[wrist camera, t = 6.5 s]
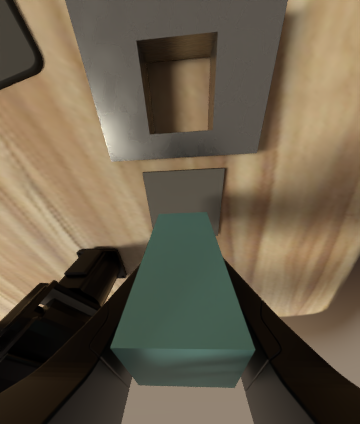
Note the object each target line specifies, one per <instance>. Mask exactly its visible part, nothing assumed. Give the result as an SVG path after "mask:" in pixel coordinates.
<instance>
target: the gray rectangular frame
mask: <svg viewBox="0 0 360 424" xmlns="http://www.w3.org/2000/svg"><path fill="white" fill-rule="evenodd" d="M65 1H66V5H67V8H68V12H69V15H70V19H71V22H72V26H73V29H74V33H75V36H76V40H77V43H78V47H79V50H80V54H81V57H82V61H83V64H84V68H85V71H86V75H87V78H88V82H89V85H90V89H91V92H92V96H93V99H94V103H95V106H96V110H97V113H98V117H99V120H100V124H101V127H102V131H103V134H104V138H105V141H106V145H107V148H108V152H109V155H110V159H111V162H112V161H128V160H145V159H162V158H179V157H196V156H213V155H230V154H247V153H257V150H258V145H259V140H260V135H261V130H262V125H263V120H264V115H265V110H266V105H267V100H268V95H269V91H270V86H271V81H272V76H273V71H274V66H275V61H276V56H277V51H278V46H279V41H280V36H281V31H282V26H283V21H284V16H285V11H286V6H287V1H288V0H65ZM201 57H210V84H209V110H208V130H207V131H193V132H178V133H164V134H155V128H154V120H153V111H152V103H151V95H150V87H149V79H148V71H147V63H150V62H160V61H171V60H181V59H191V58H201Z"/></svg>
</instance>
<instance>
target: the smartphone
mask: <svg viewBox="0 0 360 424" xmlns="http://www.w3.org/2000/svg"><path fill="white" fill-rule="evenodd" d="M42 66H43V61H42V57H41V54H40V52H39V50H38V48H37V46H36V44H35V42H34V40H33V38H32V36H31V34H30V32H29V30H28V28H27V27H26V25H25V23H24V21H23V19H22V17H21V15H20V13H19V11H18V9H17V7H16V5H15V3H14V1H13V0H0V90H1V89H3V88H5V87H8V86H10V85H12V84H13V82H20V81H22V80H24V79H27V78H29V77H31V76H34V75H36V74H38V73H39V72H40V71H41V69H42Z"/></svg>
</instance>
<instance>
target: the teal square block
mask: <svg viewBox="0 0 360 424" xmlns="http://www.w3.org/2000/svg"><path fill="white" fill-rule="evenodd" d="M110 349H111V350H112V351H113V352H114V354H115V355H116V356H117V358H118V359H119V360H120V361H121V363H122V364H123V365H124V367H125V368H126V369H127V370H128V372H129V373H130V374H131V376H132V377H133V378H134V379H135V381H136V382H137V383H138V385H150V386H188V387H225V388H226V387H228V388H234V387H235V386H236V384H237V382H238V380H239V379H240V377H241V375H242V373H243V371H244V370H245V368H246V366H247V364H248V362H249V360H250V359H251V357H252V355H253V353H254V351H255V348H254V345H253V342H252V339H251V336H250V333H249V331H248V328H247V325H246V322H245V319H244V316H243V314H242V311H241V308H240V305H239V302H238V299H237V297H236V294H235V291H234V288H233V285H232V282H231V279H230V277H229V274H228V271H227V268H226V265H225V262H224V260H223V257H222V254H221V251H220V248H219V245H218V243H217V240H216V237H215V234H214V231H213V228H212V226H211V223H210V220H209V217H208V214H207V212H197V213H171V214H159V215H158V218H157V220H156V223H155V226H154V229H153V231H152V234H151V237H150V240H149V242H148V245H147V248H146V251H145V253H144V256H143V259H142V262H141V264H140V267H139V270H138V273H137V275H136V278H135V281H134V284H133V286H132V289H131V292H130V295H129V297H128V300H127V303H126V306H125V308H124V311H123V314H122V317H121V319H120V322H119V325H118V328H117V330H116V333H115V336H114V339H113V341H112V344H111V347H110Z"/></svg>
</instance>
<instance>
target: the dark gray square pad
mask: <svg viewBox="0 0 360 424" xmlns="http://www.w3.org/2000/svg"><path fill="white" fill-rule="evenodd" d="M224 171H225V168H212V169H193V170H174V171H156V172H143V179H144V184H145V189H146V195H147V200H148V205H149V211H150V216H151V221H152V227H153V229H154V226H155V223H156V220H157V218H158V215H159V214H171V213H197V212H207V214H208V217H209V220H210V223H211V226H212V228H213V231H214V234H215V236H218V230H219V220H220V210H221V200H222V190H223V181H224Z"/></svg>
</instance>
